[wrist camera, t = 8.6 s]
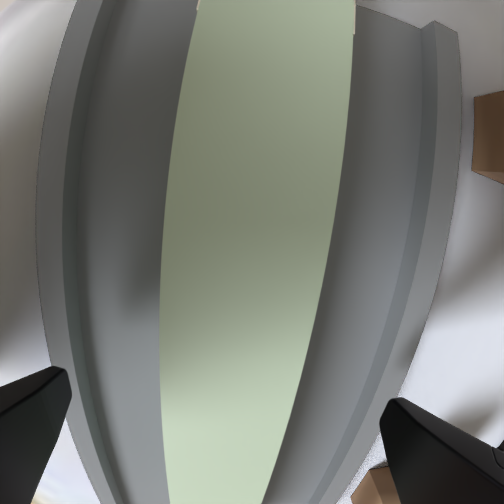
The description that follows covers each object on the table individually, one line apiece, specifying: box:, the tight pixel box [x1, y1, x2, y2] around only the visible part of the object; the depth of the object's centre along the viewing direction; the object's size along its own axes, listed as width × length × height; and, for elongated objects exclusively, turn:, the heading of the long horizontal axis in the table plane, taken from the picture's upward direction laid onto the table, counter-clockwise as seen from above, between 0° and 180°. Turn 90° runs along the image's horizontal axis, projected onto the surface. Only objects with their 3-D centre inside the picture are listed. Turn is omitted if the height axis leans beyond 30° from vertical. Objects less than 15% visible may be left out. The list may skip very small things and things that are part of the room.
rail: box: [159, 0, 356, 504], centre depth 8 cm, size 22×3×3 cm, turn 173°
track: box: [36, 0, 462, 504], centre depth 9 cm, size 12×24×2 cm, turn 173°
